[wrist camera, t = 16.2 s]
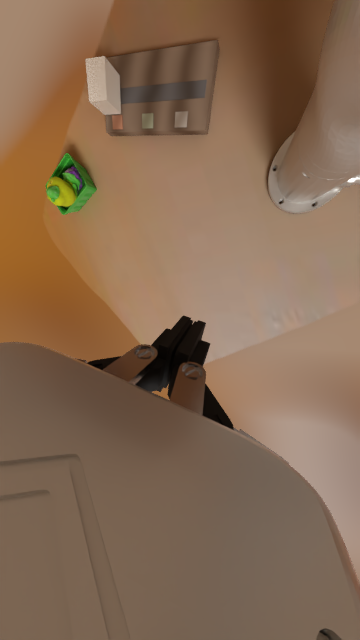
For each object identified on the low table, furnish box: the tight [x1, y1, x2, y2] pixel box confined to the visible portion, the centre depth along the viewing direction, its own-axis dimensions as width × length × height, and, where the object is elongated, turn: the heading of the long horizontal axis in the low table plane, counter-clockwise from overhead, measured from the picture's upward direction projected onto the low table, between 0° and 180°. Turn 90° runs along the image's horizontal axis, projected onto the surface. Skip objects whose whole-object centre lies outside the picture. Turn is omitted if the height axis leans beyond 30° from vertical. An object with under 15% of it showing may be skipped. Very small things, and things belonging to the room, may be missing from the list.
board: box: [106, 40, 219, 136], centre depth 32 cm, size 22×10×2 cm, turn 83°
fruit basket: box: [46, 153, 97, 215], centre depth 41 cm, size 11×9×11 cm
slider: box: [85, 56, 121, 115], centre depth 32 cm, size 4×5×4 cm
